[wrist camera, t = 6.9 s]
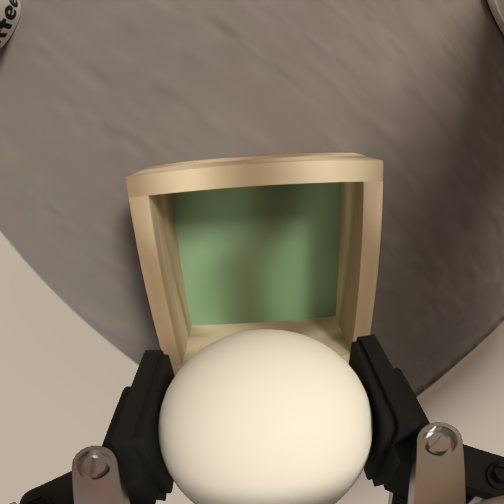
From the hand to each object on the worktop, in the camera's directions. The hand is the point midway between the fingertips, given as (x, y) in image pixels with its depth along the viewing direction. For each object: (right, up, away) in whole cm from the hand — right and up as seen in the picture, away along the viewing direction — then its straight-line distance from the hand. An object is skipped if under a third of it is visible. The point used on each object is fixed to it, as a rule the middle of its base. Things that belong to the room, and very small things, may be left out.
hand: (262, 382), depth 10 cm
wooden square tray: (0, +4, +10) cm, 11 cm away
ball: (0, -1, -2) cm, 2 cm away
